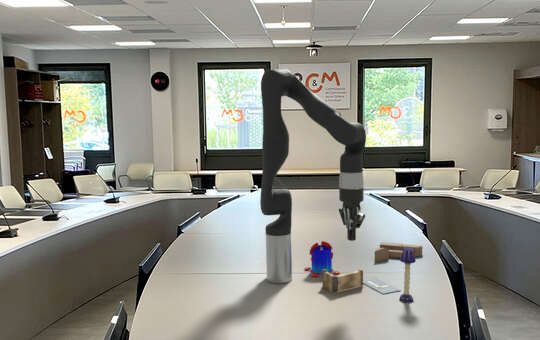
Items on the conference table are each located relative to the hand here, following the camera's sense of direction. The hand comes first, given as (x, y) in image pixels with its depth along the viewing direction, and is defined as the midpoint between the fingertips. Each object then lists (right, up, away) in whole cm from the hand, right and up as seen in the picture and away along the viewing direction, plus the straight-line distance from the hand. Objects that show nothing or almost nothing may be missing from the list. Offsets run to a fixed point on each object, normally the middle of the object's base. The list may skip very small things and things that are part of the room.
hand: (351, 240), depth 153 cm
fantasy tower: (-6, -17, +30) cm, 35 cm away
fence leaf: (0, -18, +10) cm, 20 cm away
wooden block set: (+27, -15, +46) cm, 55 cm away
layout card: (+12, -18, +13) cm, 25 cm away
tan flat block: (-6, -18, +11) cm, 22 cm away
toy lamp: (+18, -19, -1) cm, 26 cm away
